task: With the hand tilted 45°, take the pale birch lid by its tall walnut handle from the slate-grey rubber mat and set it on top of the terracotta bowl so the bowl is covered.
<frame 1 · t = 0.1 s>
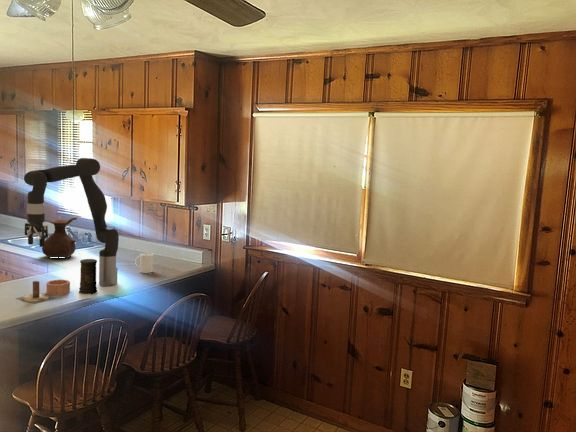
hand: (36, 245, 227), 29 cm above the counter, tool pointing down, fingers open, 8 cm apart
bowl: (58, 293, 248), on the counter
mug: (143, 272, 304), on the counter
lid: (36, 298, 236), point 1 cm above the counter, touching mat
brown vase: (59, 257, 331), on the counter
container: (88, 293, 252), on the counter
mat: (36, 299, 236), on the counter
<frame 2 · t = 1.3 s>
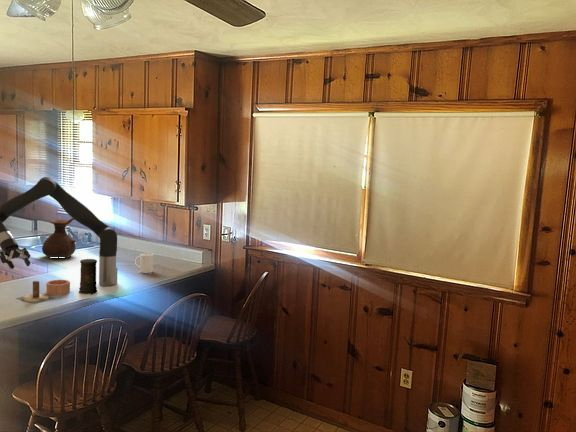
hand: (21, 266, 239), 15 cm above the counter, tool tilted 45°, fingers open, 8 cm apart
nothing on the counter moved.
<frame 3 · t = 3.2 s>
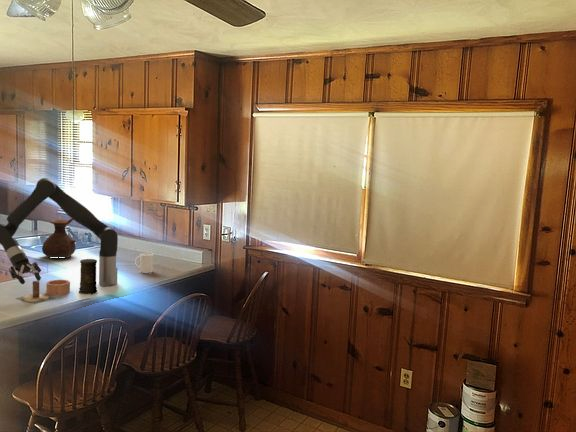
hand: (31, 281, 236), 9 cm above the counter, tool tilted 45°, fingers open, 8 cm apart
nothing on the counter moved.
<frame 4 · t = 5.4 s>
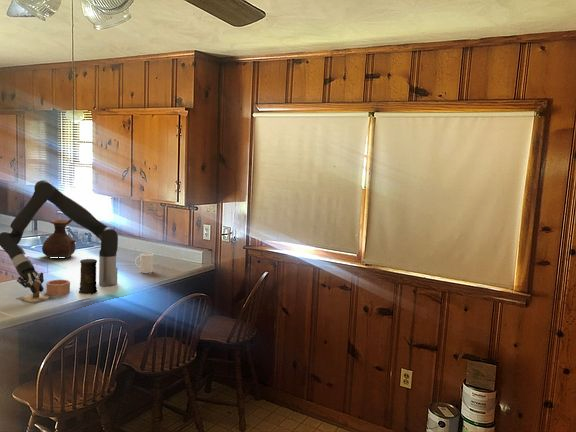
hand: (38, 291, 234), 4 cm above the counter, tool tilted 45°, fingers closed on lid, 3 cm apart
lid: (36, 298, 235), point 1 cm above the counter, touching gripper, mat
everything else where it was.
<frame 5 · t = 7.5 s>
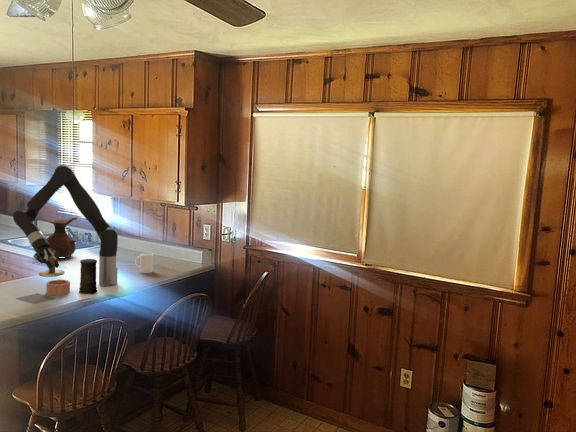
hand: (54, 267, 241), 15 cm above the counter, tool tilted 45°, fingers closed on lid, 3 cm apart
lid: (51, 274, 242), point 12 cm above the counter, touching gripper
everything else where it was.
when the fingers open (11 cm above the counter, at t = 9.8 s): lid drops 2 cm, resting on bowl.
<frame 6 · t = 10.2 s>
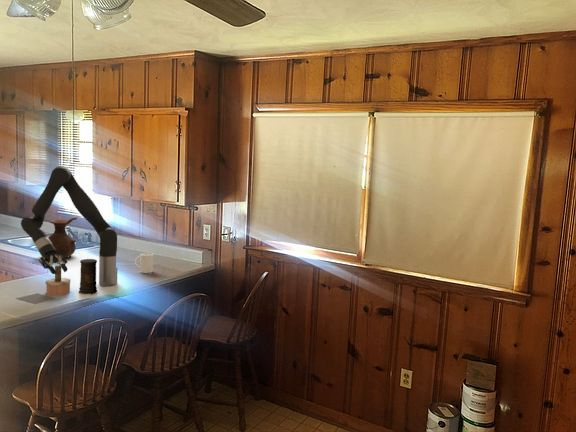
hand: (60, 272, 246), 12 cm above the counter, tool tilted 45°, fingers open, 6 cm apart
lid: (58, 282, 247), point 6 cm above the counter, touching bowl
everything else where it was.
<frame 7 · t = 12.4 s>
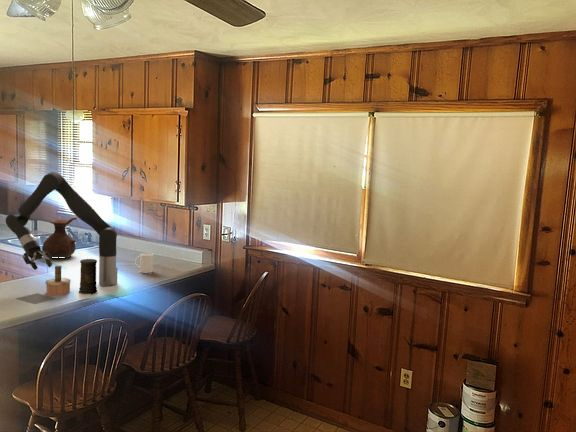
hand: (43, 267, 252), 12 cm above the counter, tool tilted 45°, fingers open, 8 cm apart
nothing on the counter moved.
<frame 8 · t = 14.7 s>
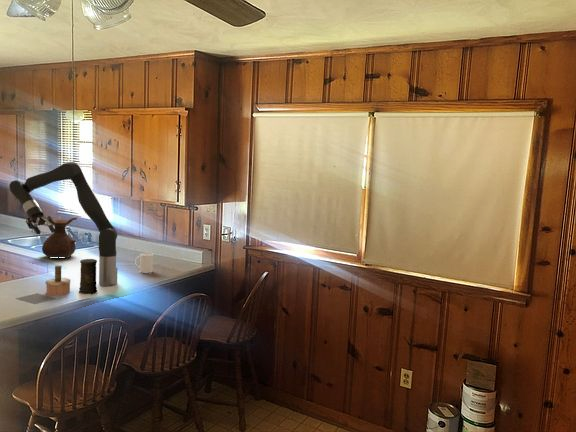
hand: (46, 232, 255), 31 cm above the counter, tool tilted 45°, fingers open, 8 cm apart
nothing on the counter moved.
at the end: lid 0.1 cm off-centre on the bowl, point 6.0 cm above the bowl's base; lid tilted 0°; the gripper is holding nothing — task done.
